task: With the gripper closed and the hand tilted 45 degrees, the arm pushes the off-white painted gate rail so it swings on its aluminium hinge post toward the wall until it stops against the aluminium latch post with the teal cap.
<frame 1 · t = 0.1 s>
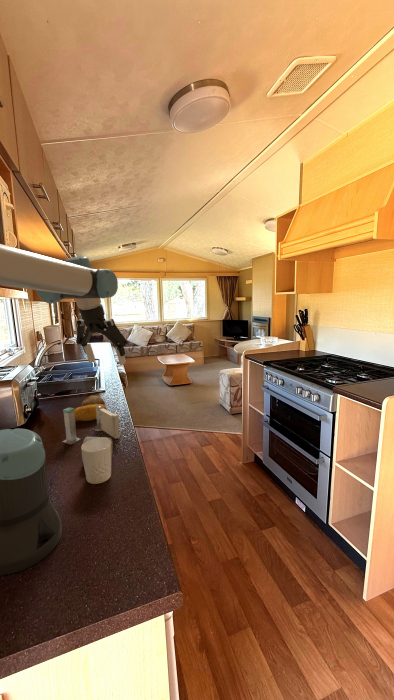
hand: (107, 362, 107), 28 cm above the countertop, tool tilted 20°, fingers open, 13 cm apart
ceramic mug: (98, 458, 96), on the countertop
potato: (90, 420, 127), on the countertop
gate: (109, 422, 111), point 5 cm above the countertop, hinge at 0.0°
bread roll: (92, 408, 140), on the countertop
white cup: (98, 477, 85), on the countertop
gate posts: (100, 428, 118), on the countertop
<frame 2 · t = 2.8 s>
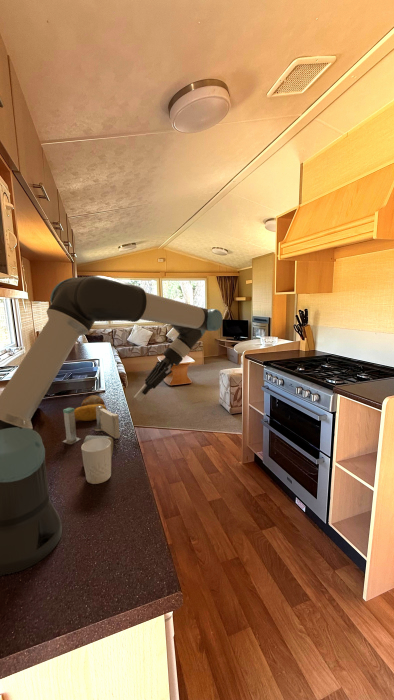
hand: (136, 399, 115), 12 cm above the countertop, tool tilted 45°, fingers closed
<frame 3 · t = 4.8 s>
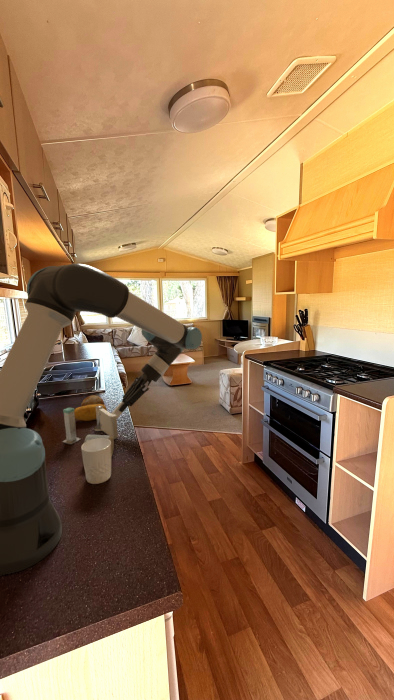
hand: (113, 416, 112), 6 cm above the countertop, tool tilted 45°, fingers closed
gate: (108, 422, 111), point 5 cm above the countertop, hinge at -3.1°, touching gripper
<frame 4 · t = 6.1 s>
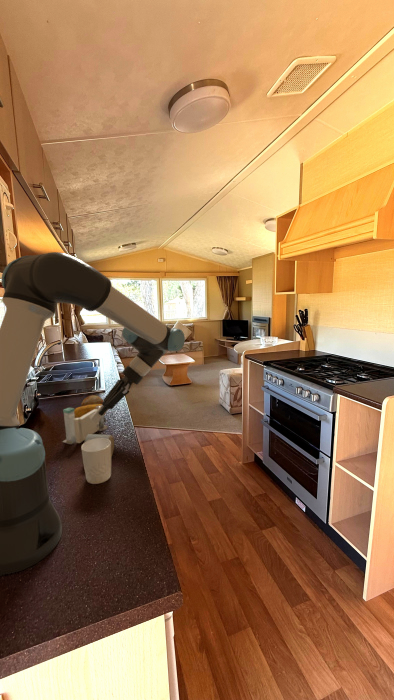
hand: (93, 420, 109), 6 cm above the countertop, tool tilted 45°, fingers closed
gate: (87, 424, 110), point 5 cm above the countertop, hinge at -60.4°
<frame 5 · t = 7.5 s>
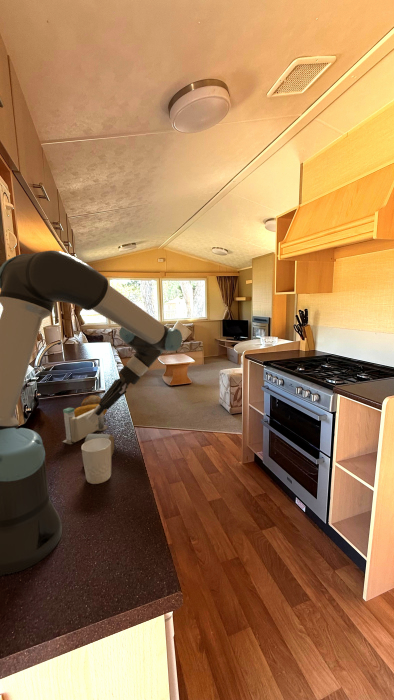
hand: (90, 420, 109), 7 cm above the countertop, tool tilted 45°, fingers closed
gate: (84, 424, 110), point 5 cm above the countertop, hinge at -68.3°
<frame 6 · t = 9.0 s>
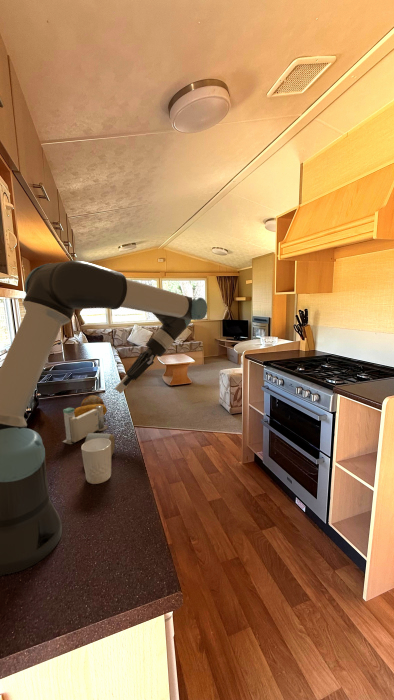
hand: (117, 390, 111), 16 cm above the countertop, tool tilted 45°, fingers closed
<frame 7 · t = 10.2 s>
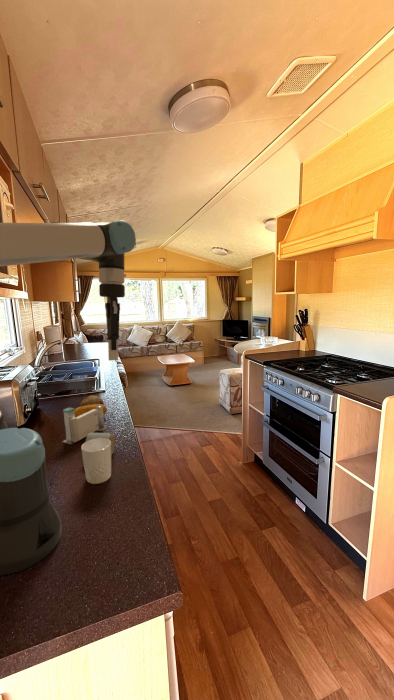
hand: (113, 359, 95), 31 cm above the countertop, tool pointing down, fingers closed
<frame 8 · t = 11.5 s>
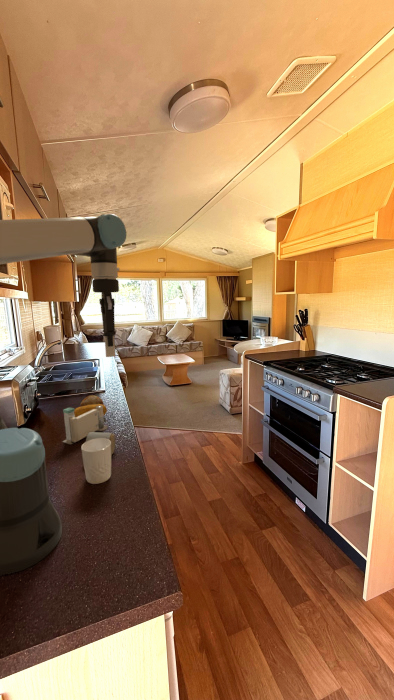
hand: (110, 356, 93), 32 cm above the countertop, tool pointing down, fingers closed
at the end: gate at -68° (first picture: +0°) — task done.
